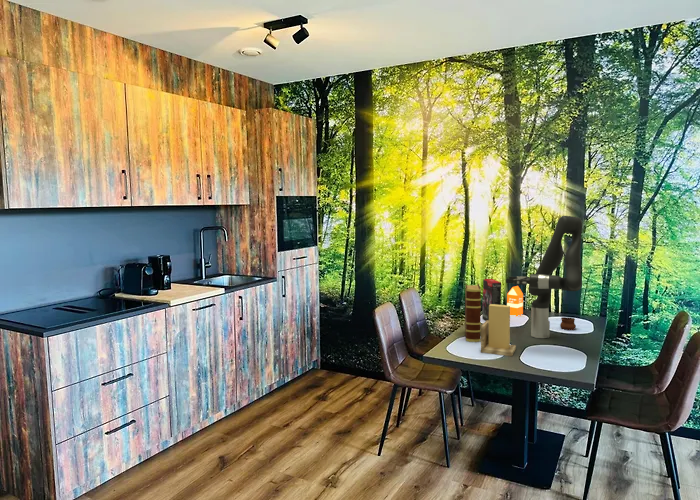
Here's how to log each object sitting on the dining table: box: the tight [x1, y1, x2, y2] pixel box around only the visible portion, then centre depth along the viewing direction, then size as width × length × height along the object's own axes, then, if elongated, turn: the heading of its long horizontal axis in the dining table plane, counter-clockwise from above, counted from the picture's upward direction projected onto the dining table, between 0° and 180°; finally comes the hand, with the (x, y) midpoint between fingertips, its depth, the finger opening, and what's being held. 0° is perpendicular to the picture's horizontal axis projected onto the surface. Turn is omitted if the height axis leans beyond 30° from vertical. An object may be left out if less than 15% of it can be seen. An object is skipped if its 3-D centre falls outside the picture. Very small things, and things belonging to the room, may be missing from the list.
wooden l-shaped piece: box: [480, 320, 517, 357], centre depth 251 cm, size 16×14×14 cm
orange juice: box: [506, 285, 524, 317], centre depth 334 cm, size 8×9×20 cm
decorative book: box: [464, 283, 482, 343], centre depth 278 cm, size 22×8×30 cm, turn 168°
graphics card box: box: [481, 278, 502, 321], centre depth 315 cm, size 17×7×27 cm, turn 5°
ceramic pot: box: [559, 316, 577, 331], centre depth 294 cm, size 18×18×7 cm
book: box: [489, 304, 511, 349], centre depth 250 cm, size 4×10×22 cm, turn 63°
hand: (507, 279), depth 258 cm, fingers open, 8 cm apart
